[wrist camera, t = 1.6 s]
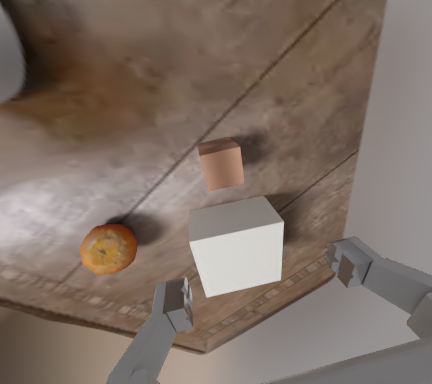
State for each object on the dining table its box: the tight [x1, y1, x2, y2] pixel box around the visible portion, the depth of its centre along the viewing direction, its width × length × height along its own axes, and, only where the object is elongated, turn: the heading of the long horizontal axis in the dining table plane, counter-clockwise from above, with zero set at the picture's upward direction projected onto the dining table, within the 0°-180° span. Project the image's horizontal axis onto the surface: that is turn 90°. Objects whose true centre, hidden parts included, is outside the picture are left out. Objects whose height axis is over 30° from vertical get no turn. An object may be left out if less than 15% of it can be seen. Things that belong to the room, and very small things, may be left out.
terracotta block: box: [197, 137, 244, 192], centre depth 25 cm, size 5×5×6 cm
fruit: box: [80, 224, 137, 275], centre depth 29 cm, size 8×8×8 cm
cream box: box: [189, 196, 284, 297], centre depth 32 cm, size 14×14×8 cm
